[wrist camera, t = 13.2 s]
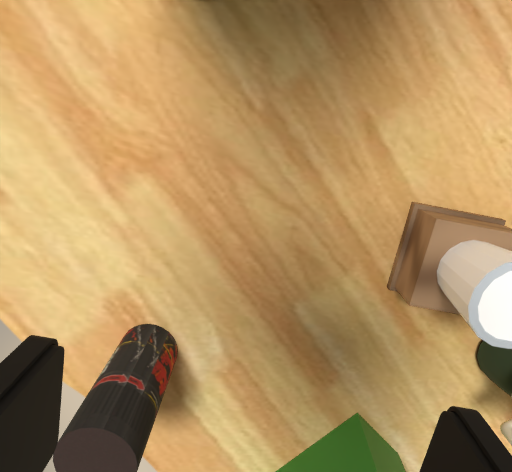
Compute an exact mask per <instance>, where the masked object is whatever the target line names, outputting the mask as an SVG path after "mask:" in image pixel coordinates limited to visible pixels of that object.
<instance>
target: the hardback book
mask: <svg viewBox="0 0 512 472" xmlns="http://www.w3.org/2000/svg"><path fill="white" fill-rule="evenodd" d="M276 472H405V469H404V467H403V464H402V462H401V460H400V457H399V455H398V453H397V452H396V451H395V450H394V449H393V448H392V447H391V446H390V445H389V444H388V443H387V442H386V441H385V440H384V439H383V438H382V437H381V436H380V435H379V434H378V433H377V432H376V431H375V430H374V429H373V428H372V427H371V426H370V425H369V424H368V423H367V422H366V421H365V420H364V419H363V418H362V417H361V416H360V415H359V414H358V413H356V414H355V415H353V416H352V417H351V418H349V419H348V420H346V421H345V422H344V423H342V424H341V425H340V426H338V427H337V428H335V429H334V430H333V431H331V432H330V433H328V434H327V435H326V436H324V437H323V438H322V439H320V440H319V441H317V442H316V443H315V444H313V445H312V446H310V447H309V448H308V449H306V450H305V451H304V452H302V453H301V454H299V455H298V456H297V457H295V458H294V459H292V460H291V461H290V462H288V463H287V464H286V465H284V466H283V467H281V468H280V469H279V470H277V471H276Z"/></svg>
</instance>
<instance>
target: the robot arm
mask: <svg viewBox="0 0 512 472" xmlns="http://www.w3.org/2000/svg"><path fill="white" fill-rule="evenodd" d="M63 364H64V348H63V347H62V346H58V342H57V340H56V339H52V338H46V337H41V336H35V335H31V336H29V337H28V338H27V339H26V340H25V341H23V342H22V343H21V344H20V345H19V346H18V347H17V348H16V349H15V350H14V351H13V352H12V353H11V354H10V355H9V356H8V357H6V358H5V359H4V360H3V361H2V362H1V363H0V472H43V470H44V468H45V467H46V465H47V464H48V462H49V460H50V459H51V457H52V455H53V453H54V451H55V449H56V446H57V442H58V434H59V420H60V406H61V391H62V378H63ZM420 472H512V456H511V454H510V453H509V452H508V450H507V449H506V448H505V446H504V445H503V444H502V442H501V441H500V440H499V438H498V437H497V436H496V434H495V433H494V432H493V430H492V429H491V428H490V426H489V425H488V424H487V422H486V421H485V420H484V418H483V417H482V416H481V414H480V413H479V412H478V411H476V410H473V409H467V408H461V407H455V406H452V407H450V408H449V409H448V410H447V411H443V412H442V413H441V415H440V417H439V420H438V423H437V426H436V428H435V431H434V434H433V437H432V439H431V442H430V445H429V447H428V450H427V453H426V456H425V458H424V461H423V464H422V467H421V469H420Z"/></svg>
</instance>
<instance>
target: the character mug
mask: <svg viewBox="0 0 512 472" xmlns="http://www.w3.org/2000/svg"><path fill="white" fill-rule="evenodd" d="M477 359H478V362H479V366H480V369H481V370H482V371H483V372H484V373H485V374H486V375H487V376H488V378H490V379H491V380H492V381H493V382H494V383H495V384H496V385H497V386H499V387H500V388H501V389H502V390H504V391H505V392H506V393H507V394H509V395H510V396H511V398H512V349H507V348H501V347H495V346H491V345H490V344H488V343H487V342H485V341H483V342H482V343H481V344H480V347H479V351H478V354H477ZM500 429H501V432H502V434H503V435H504V436H505V438H506V439H507V440H508V441H509V443H510V444H511V445H512V419H510V420H508V421H505V422H504V423H503V424H501V426H500Z"/></svg>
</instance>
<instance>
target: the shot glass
mask: <svg viewBox="0 0 512 472" xmlns="http://www.w3.org/2000/svg"><path fill="white" fill-rule="evenodd" d="M437 280H438V284H439V286H440V287H441V289H442V291H443V292H444V294H445V295H446V296H447V298H448V299H449V300H450V301H451V303H452V304H453V305H454V307H455V308H456V309H457V311H458V312H459V313H460V314H461V316H462V317H463V318H464V320H465V321H466V322H467V323H468V325H469V326H470V327H471V329H472V330H473V331H474V332H475V334H476V335H477V336H478V337H479V338H481V339H482V340H484V341H485V342H487V343H488V344H490V345H491V346H495V347H501V348H507V349H512V251H510V250H507V249H504V248H501V247H498V246H495V245H493V244H490V243H487V242H482V241H477V240H471V241H465V242H460V243H459V244H457V245H455V246H454V247H452V248H450V249H449V250H448V251H447V252H446V254H445V255H444V256H443V257H442V258H441V260H440V263H439V266H438V269H437Z"/></svg>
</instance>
